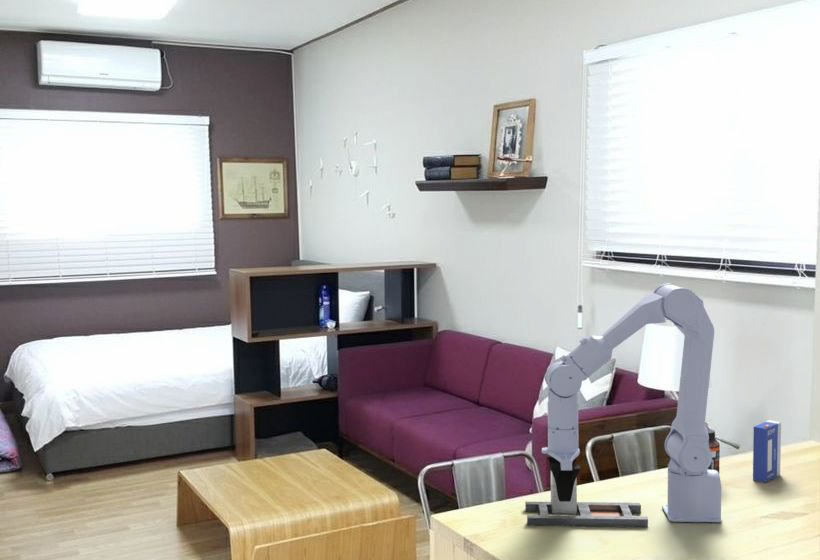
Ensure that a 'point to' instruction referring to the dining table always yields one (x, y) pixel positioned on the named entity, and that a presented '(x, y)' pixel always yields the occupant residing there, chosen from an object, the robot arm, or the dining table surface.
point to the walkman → (766, 451)
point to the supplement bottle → (714, 450)
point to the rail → (587, 515)
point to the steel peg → (563, 506)
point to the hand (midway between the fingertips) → (563, 496)
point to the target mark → (604, 513)
